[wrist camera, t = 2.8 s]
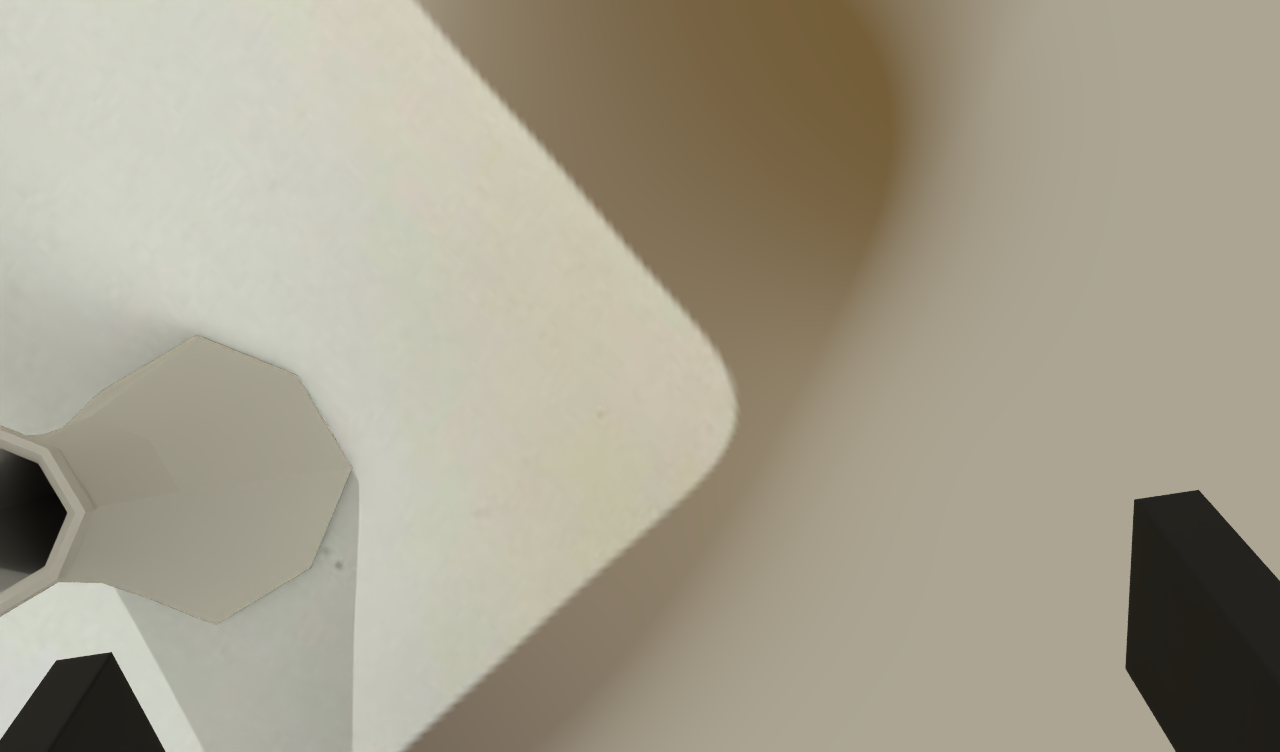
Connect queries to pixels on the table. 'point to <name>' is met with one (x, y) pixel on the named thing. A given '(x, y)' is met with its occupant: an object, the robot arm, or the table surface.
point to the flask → (174, 486)
